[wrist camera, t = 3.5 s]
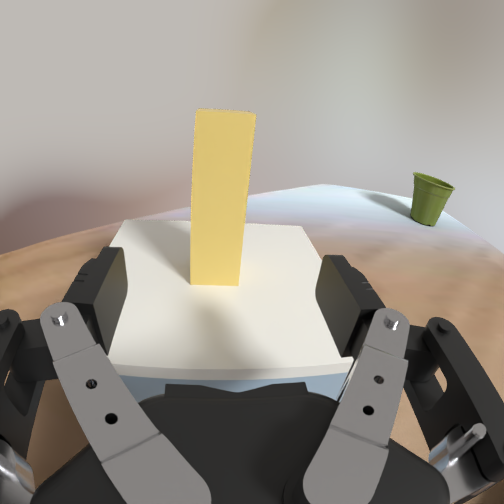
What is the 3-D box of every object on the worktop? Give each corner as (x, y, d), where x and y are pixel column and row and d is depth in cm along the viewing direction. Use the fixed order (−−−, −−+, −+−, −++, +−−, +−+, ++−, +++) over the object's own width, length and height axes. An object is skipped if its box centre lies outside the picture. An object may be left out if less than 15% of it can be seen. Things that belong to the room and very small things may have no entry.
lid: (60, 366, 14) (0, 137, 8) (125, 228, 31) (123, 105, 25) (370, 369, 17) (450, 164, 11) (299, 234, 34) (319, 116, 27)
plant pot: (446, 235, 63) (460, 192, 58) (404, 221, 66) (416, 177, 61) (438, 220, 73) (449, 182, 67) (401, 207, 76) (410, 169, 71)
